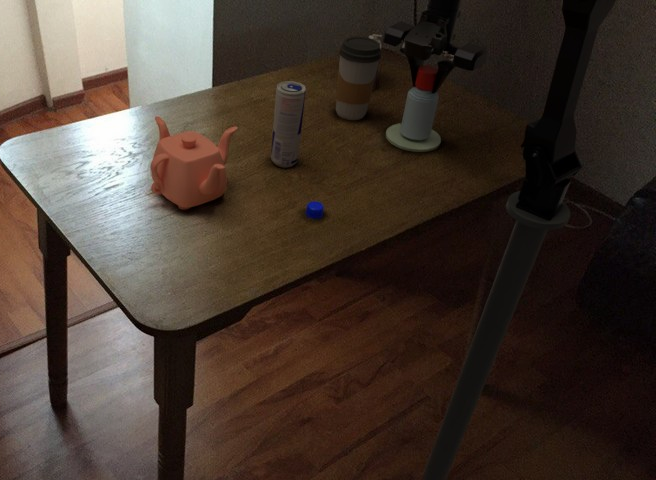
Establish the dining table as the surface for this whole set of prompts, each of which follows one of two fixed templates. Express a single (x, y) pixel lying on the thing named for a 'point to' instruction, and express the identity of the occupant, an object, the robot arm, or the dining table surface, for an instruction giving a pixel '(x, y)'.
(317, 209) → the bottle cap
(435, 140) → the coaster
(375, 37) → the flask
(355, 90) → the coffee cup
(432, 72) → the cap
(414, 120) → the bottle
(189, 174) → the teapot
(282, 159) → the beverage can
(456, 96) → the dining table surface
